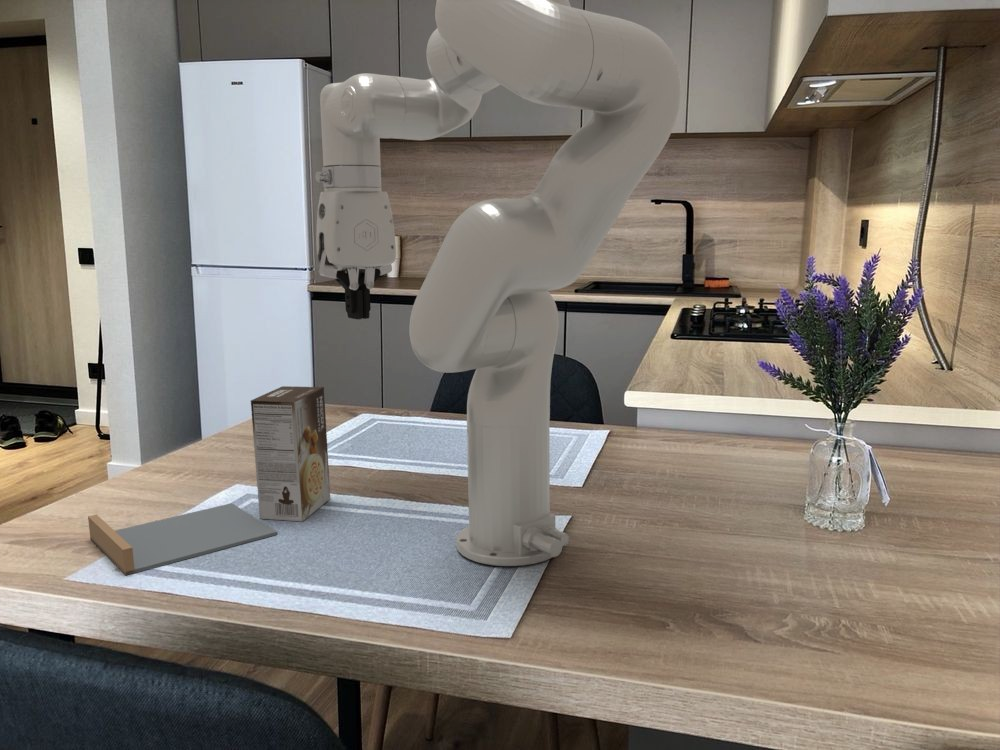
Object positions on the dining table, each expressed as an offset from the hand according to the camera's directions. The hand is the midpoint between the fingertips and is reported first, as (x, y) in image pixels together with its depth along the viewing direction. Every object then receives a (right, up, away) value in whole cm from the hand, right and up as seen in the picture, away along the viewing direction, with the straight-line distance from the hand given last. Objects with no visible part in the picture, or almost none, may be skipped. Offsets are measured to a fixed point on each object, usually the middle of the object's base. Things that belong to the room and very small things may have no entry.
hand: (358, 317), depth 115 cm
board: (-20, -28, -12) cm, 36 cm away
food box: (-8, -26, -2) cm, 27 cm away
